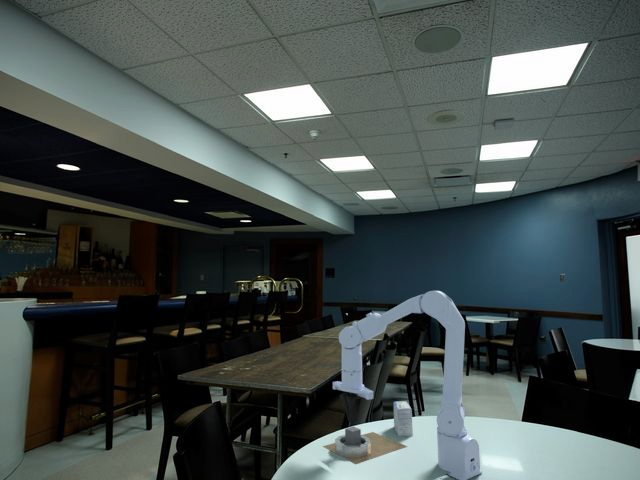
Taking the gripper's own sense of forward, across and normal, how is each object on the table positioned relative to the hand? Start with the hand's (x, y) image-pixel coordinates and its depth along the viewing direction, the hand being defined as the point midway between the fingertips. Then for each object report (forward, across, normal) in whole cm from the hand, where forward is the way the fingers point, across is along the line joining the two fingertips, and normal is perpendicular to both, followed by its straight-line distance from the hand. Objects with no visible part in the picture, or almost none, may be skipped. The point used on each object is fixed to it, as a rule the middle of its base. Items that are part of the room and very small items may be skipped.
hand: (352, 421), depth 109 cm
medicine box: (+9, +1, -22) cm, 24 cm away
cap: (+8, 0, 0) cm, 8 cm away
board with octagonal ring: (+8, 0, -4) cm, 10 cm away
